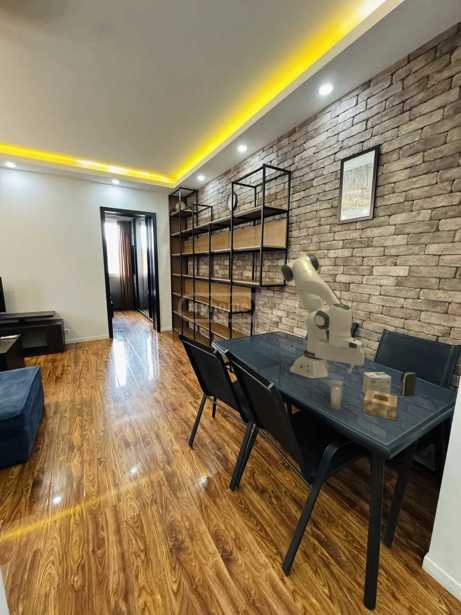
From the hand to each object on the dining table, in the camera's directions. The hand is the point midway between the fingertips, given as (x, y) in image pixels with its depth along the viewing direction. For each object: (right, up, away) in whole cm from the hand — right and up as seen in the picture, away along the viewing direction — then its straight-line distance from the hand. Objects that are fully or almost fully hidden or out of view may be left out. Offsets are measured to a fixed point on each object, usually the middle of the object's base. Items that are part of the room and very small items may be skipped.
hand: (337, 370), depth 115 cm
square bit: (+4, -16, +12) cm, 21 cm away
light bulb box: (+26, -16, +15) cm, 34 cm away
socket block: (+19, -18, +1) cm, 26 cm away
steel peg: (0, -18, +3) cm, 18 cm away
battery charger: (+42, -16, +16) cm, 48 cm away
